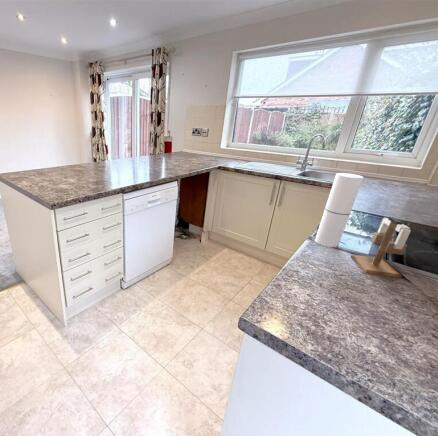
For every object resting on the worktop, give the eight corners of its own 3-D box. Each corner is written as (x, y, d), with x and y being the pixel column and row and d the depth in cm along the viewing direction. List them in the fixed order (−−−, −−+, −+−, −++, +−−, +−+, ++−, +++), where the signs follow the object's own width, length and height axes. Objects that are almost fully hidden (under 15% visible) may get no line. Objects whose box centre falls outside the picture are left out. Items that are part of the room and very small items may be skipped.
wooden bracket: (383, 245, 88) (395, 217, 84) (402, 260, 80) (417, 229, 75) (367, 244, 90) (379, 216, 85) (384, 258, 81) (398, 228, 76)
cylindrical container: (310, 240, 91) (331, 174, 82) (322, 236, 94) (343, 172, 85) (331, 249, 85) (356, 178, 76) (342, 244, 88) (368, 176, 79)
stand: (382, 261, 79) (403, 215, 72) (401, 278, 71) (427, 227, 64) (350, 257, 81) (368, 212, 74) (365, 273, 73) (387, 223, 66)
